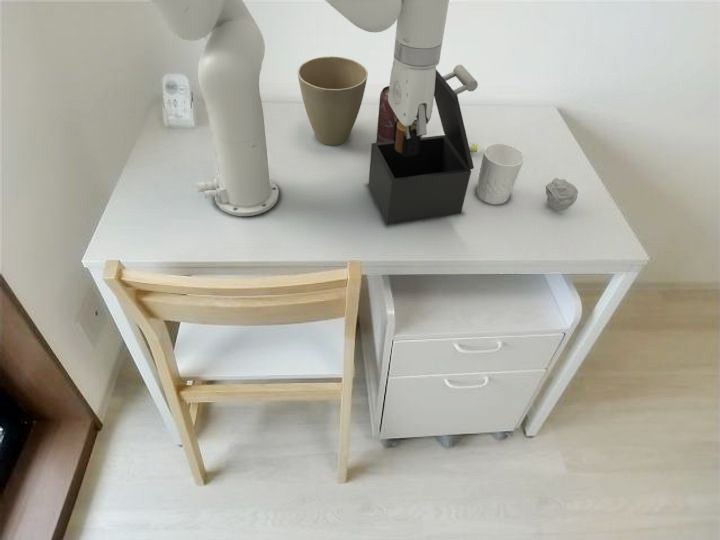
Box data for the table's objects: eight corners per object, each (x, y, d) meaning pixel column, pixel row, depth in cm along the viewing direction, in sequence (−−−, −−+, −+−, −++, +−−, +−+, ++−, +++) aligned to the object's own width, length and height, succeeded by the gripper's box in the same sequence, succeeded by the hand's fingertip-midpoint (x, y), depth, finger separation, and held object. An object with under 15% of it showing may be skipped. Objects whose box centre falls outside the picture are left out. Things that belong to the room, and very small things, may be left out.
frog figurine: (532, 200, 109) (543, 173, 104) (562, 197, 110) (573, 169, 105) (546, 219, 105) (558, 192, 100) (577, 215, 106) (590, 188, 101)
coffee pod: (398, 155, 95) (401, 131, 92) (391, 143, 98) (394, 119, 94) (419, 153, 96) (422, 129, 93) (411, 141, 99) (415, 117, 95)
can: (401, 157, 117) (408, 100, 107) (373, 153, 118) (378, 95, 108) (405, 143, 122) (412, 86, 111) (378, 139, 122) (383, 82, 112)
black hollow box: (386, 225, 101) (391, 181, 94) (368, 185, 110) (371, 143, 102) (460, 213, 105) (471, 171, 97) (437, 176, 113) (445, 134, 106)
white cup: (465, 191, 110) (475, 151, 103) (489, 178, 114) (501, 139, 106) (494, 211, 106) (507, 170, 99) (518, 197, 110) (532, 156, 102)
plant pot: (291, 126, 124) (288, 61, 113) (349, 116, 129) (351, 52, 117) (312, 160, 115) (311, 93, 103) (373, 148, 119) (379, 83, 108)
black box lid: (452, 97, 84) (484, 81, 84) (424, 62, 93) (453, 48, 92) (470, 170, 97) (497, 157, 97) (444, 133, 105) (469, 121, 105)
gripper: (380, 31, 89) (373, 126, 102) (413, 76, 78) (400, 176, 91) (421, 28, 90) (409, 122, 103) (459, 72, 79) (440, 171, 92)
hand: (405, 146), depth 97 cm, fingers closed on coffee pod, 4 cm apart
